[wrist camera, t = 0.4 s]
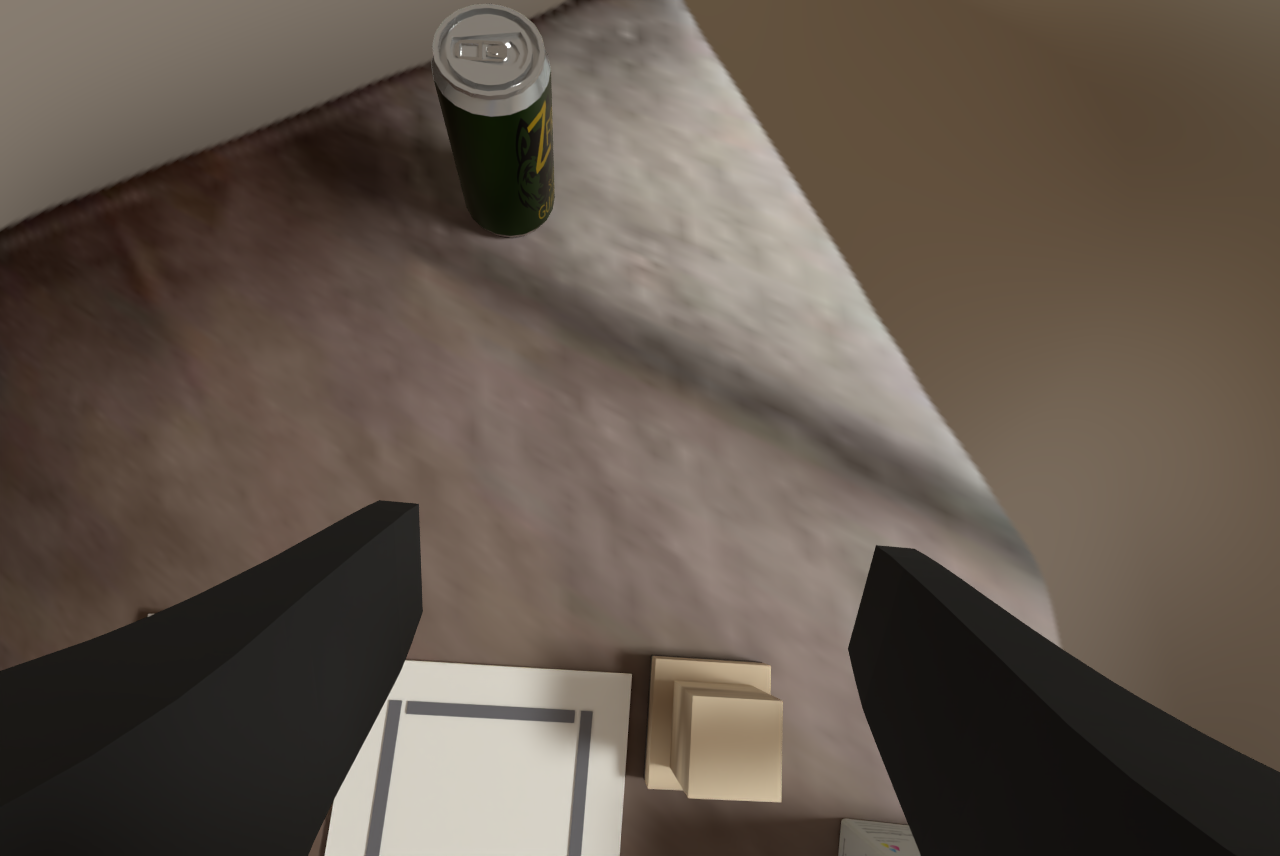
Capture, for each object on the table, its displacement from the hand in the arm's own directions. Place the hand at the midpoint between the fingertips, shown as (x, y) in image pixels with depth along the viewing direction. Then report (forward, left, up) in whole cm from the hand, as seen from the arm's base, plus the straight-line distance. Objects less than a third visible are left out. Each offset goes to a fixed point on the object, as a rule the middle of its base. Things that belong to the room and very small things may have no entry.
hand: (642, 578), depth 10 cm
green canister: (+23, +7, -26) cm, 36 cm away
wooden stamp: (-6, -7, -26) cm, 28 cm away
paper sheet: (-11, +4, -26) cm, 29 cm away
